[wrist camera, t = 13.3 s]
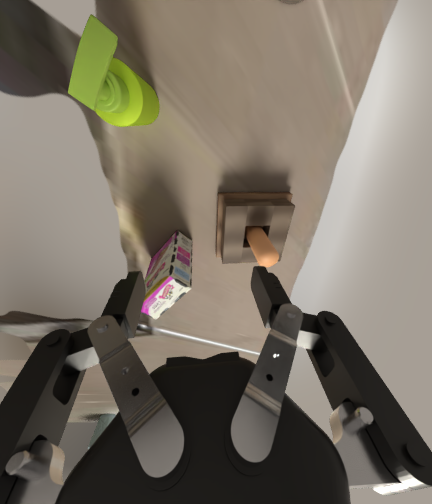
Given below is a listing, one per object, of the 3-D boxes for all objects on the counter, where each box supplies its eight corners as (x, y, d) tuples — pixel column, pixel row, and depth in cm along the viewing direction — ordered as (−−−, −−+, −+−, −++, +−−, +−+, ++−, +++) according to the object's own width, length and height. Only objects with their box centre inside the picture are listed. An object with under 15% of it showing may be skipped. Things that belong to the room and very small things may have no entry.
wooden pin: (244, 220, 44) (259, 249, 34) (261, 220, 44) (281, 249, 34) (242, 236, 46) (256, 267, 36) (258, 235, 46) (276, 266, 36)
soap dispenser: (168, 92, 31) (142, 58, 14) (149, 132, 34) (109, 143, 17) (133, 61, 28) (53, -21, 12) (115, 108, 31) (32, 93, 15)
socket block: (218, 192, 41) (221, 201, 36) (289, 192, 42) (301, 200, 38) (215, 253, 50) (218, 267, 45) (274, 251, 51) (282, 264, 47)
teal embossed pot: (122, 417, 105) (115, 447, 95) (105, 421, 106) (97, 452, 96) (110, 411, 99) (101, 443, 89) (93, 416, 100) (82, 448, 90)
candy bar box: (176, 228, 45) (169, 274, 31) (193, 240, 47) (193, 288, 33) (149, 258, 48) (133, 311, 35) (166, 268, 51) (156, 321, 37)
